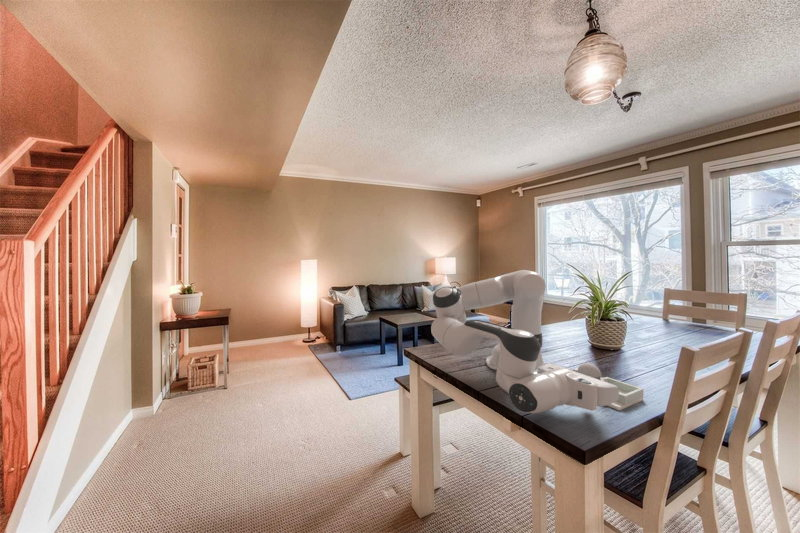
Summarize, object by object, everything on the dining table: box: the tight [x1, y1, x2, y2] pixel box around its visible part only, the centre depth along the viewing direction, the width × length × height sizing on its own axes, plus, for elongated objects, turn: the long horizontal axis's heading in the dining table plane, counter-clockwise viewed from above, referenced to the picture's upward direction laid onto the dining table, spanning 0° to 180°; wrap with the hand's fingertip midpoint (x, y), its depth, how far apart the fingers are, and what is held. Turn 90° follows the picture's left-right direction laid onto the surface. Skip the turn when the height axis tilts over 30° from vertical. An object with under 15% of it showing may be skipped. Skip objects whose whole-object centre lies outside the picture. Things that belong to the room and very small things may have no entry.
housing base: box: [604, 376, 645, 411], centre depth 94 cm, size 14×11×4 cm
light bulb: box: [577, 362, 602, 379], centre depth 87 cm, size 6×6×10 cm
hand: (590, 376), depth 88 cm, fingers closed on light bulb, 6 cm apart
